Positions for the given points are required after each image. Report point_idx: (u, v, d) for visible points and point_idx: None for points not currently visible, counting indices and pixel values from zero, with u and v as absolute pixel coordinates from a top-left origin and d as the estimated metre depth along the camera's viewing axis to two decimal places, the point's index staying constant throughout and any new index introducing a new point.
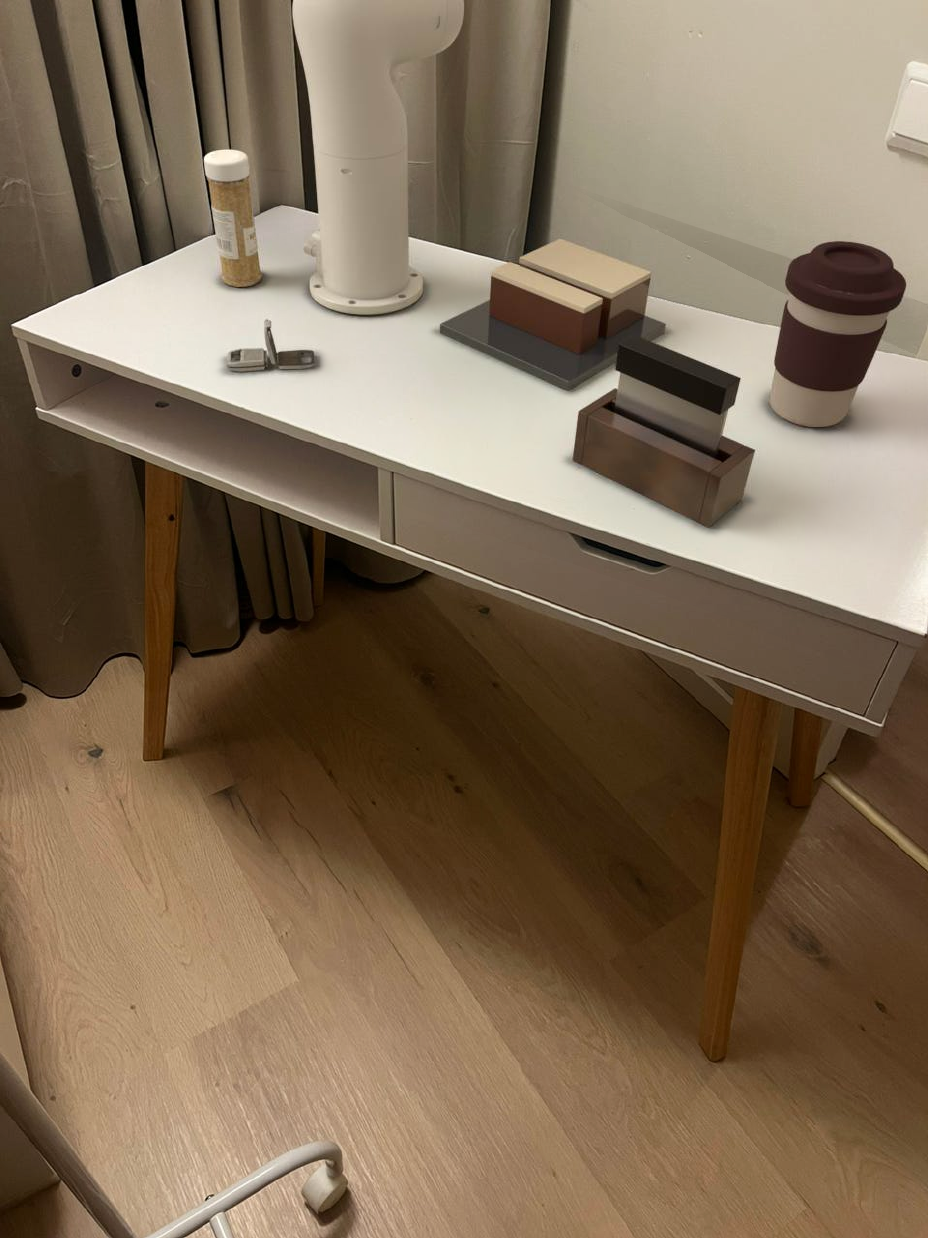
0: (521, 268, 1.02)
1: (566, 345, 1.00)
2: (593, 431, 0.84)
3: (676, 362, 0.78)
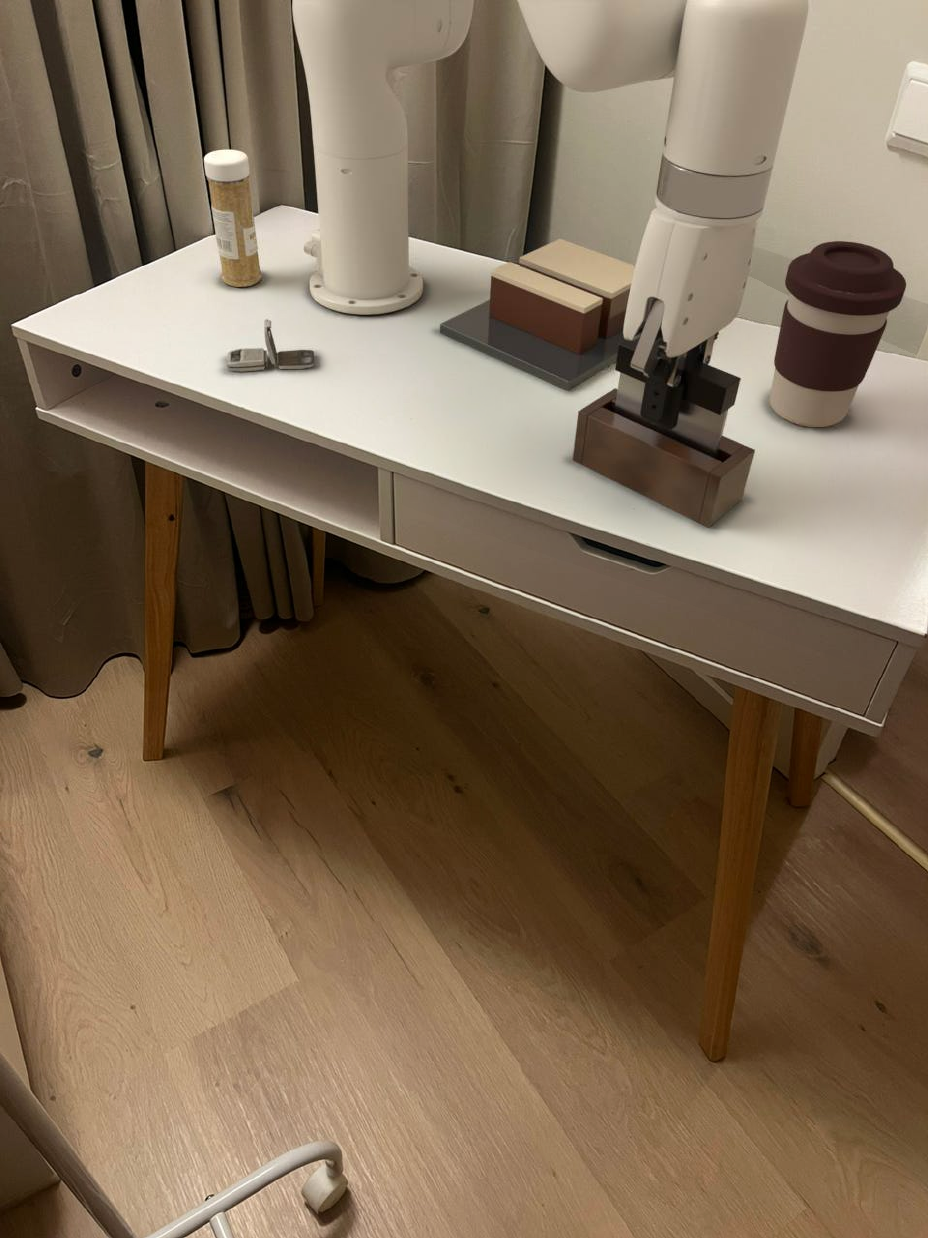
0: (521, 268, 1.02)
1: (566, 345, 1.00)
2: (593, 431, 0.84)
3: None
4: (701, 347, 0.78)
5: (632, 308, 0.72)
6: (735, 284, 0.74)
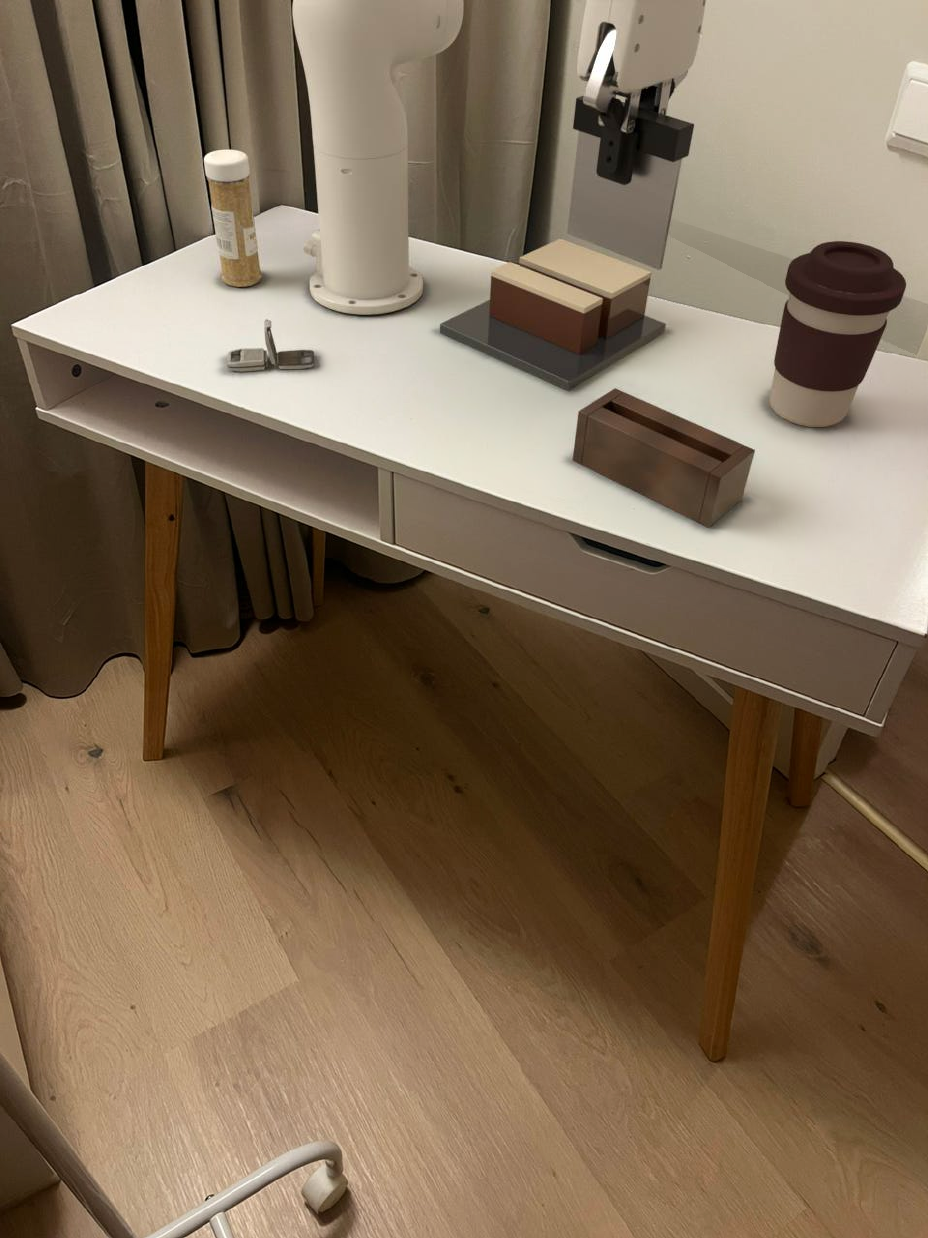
0: (521, 268, 1.02)
1: (566, 345, 1.00)
2: (593, 431, 0.84)
3: None
4: (656, 97, 0.78)
5: (585, 39, 0.73)
6: (689, 22, 0.74)
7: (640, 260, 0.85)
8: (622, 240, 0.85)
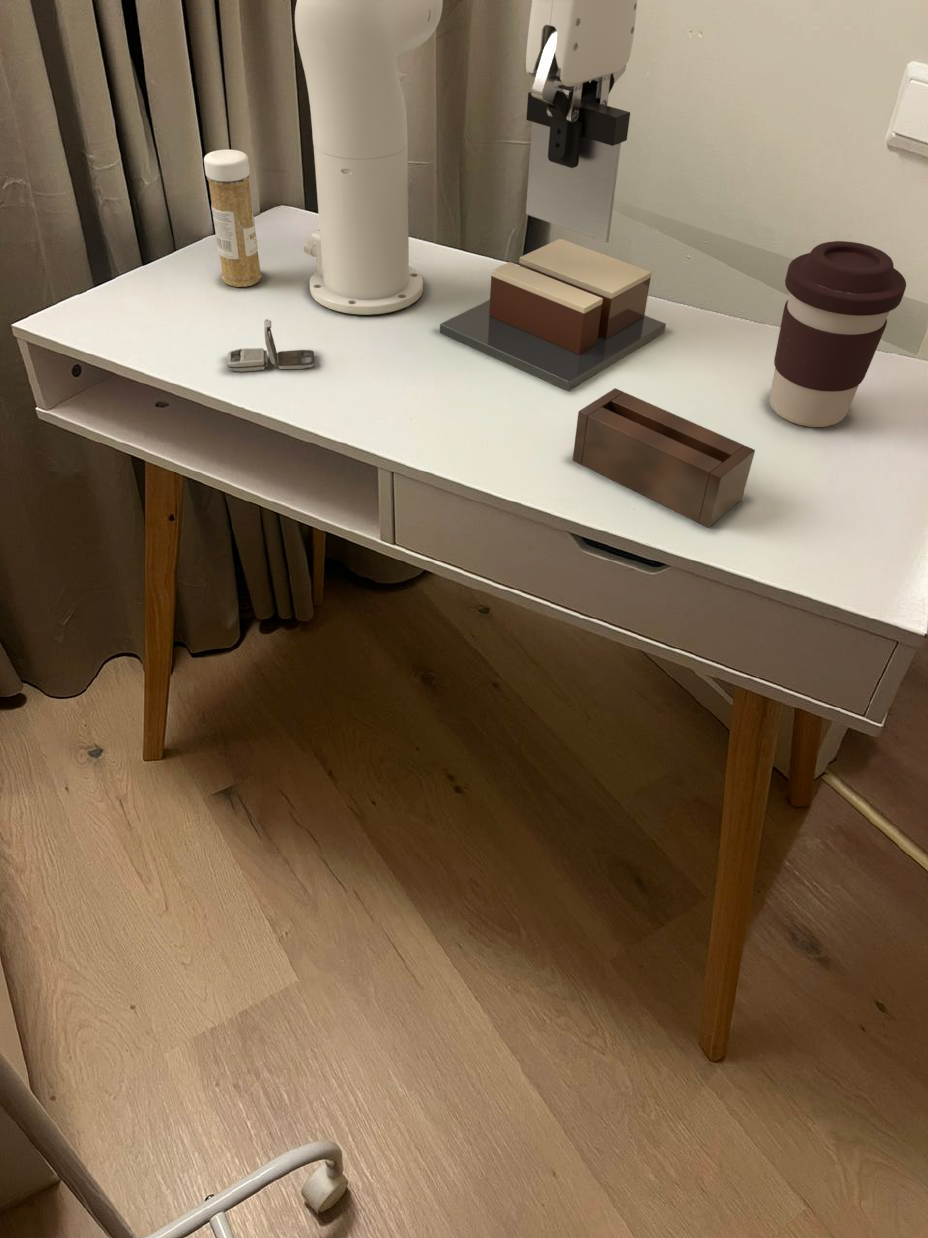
0: (521, 268, 1.02)
1: (566, 345, 1.00)
2: (593, 431, 0.84)
3: None
4: (597, 90, 0.90)
5: (531, 40, 0.84)
6: (622, 23, 0.85)
7: (589, 235, 0.96)
8: (573, 218, 0.96)
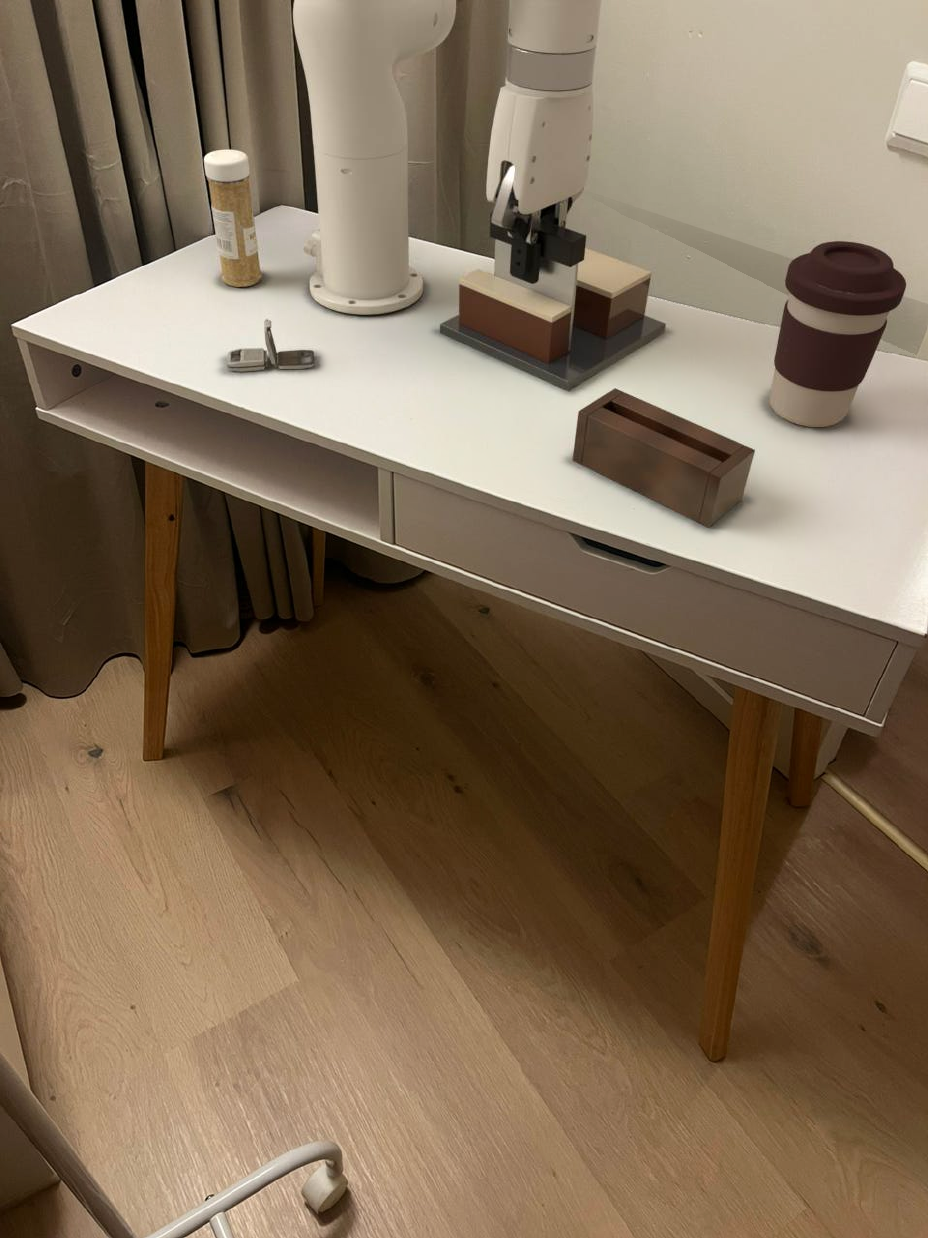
0: (490, 275, 1.01)
1: (536, 354, 0.99)
2: (593, 431, 0.84)
3: None
4: (556, 212, 0.94)
5: (491, 172, 0.89)
6: (577, 154, 0.90)
7: None
8: None
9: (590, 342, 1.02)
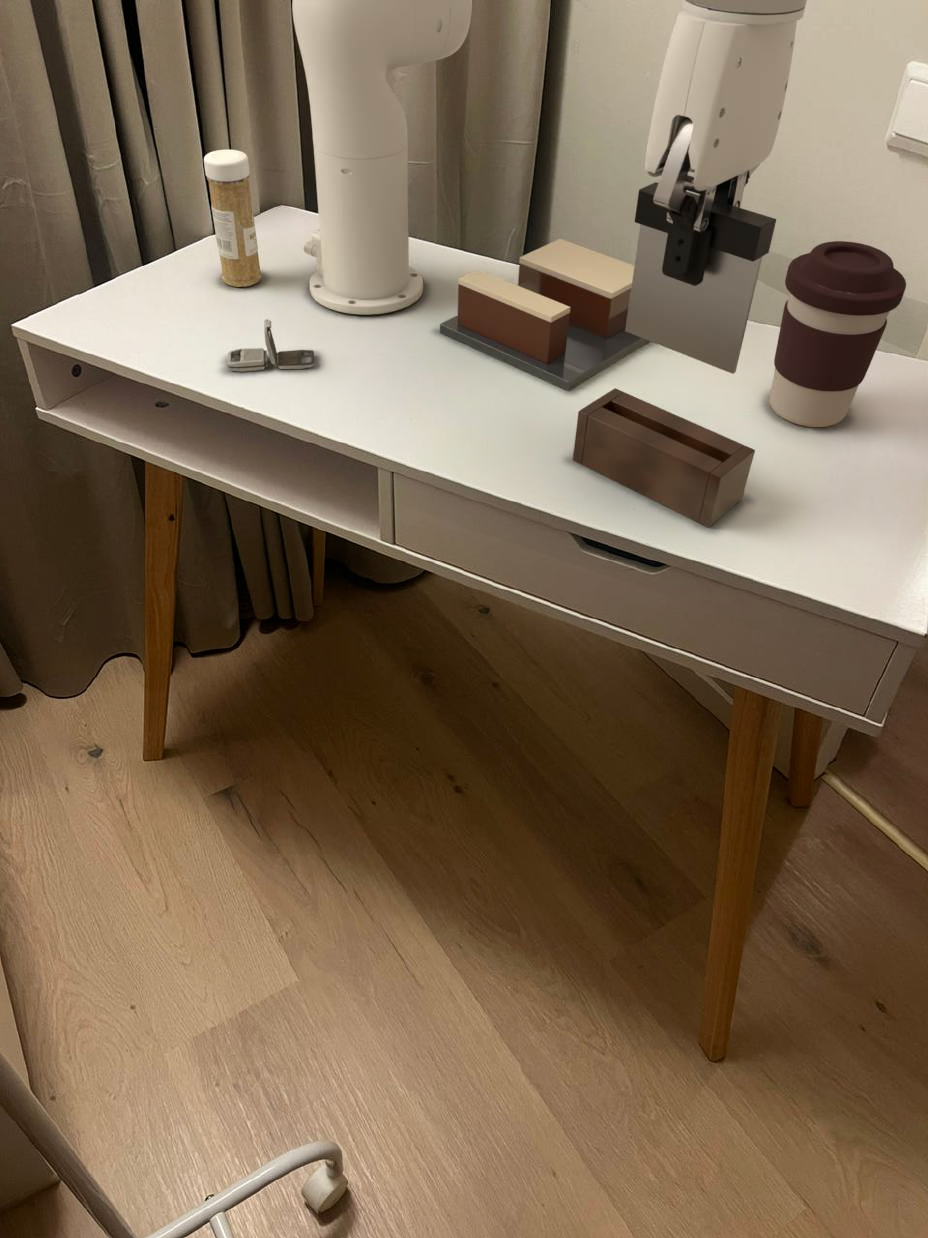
0: (489, 276, 1.01)
1: (534, 354, 0.99)
2: (593, 431, 0.84)
3: None
4: (730, 190, 0.70)
5: (655, 133, 0.65)
6: (770, 109, 0.66)
7: (711, 363, 0.76)
8: (690, 341, 0.76)
9: (590, 342, 1.02)
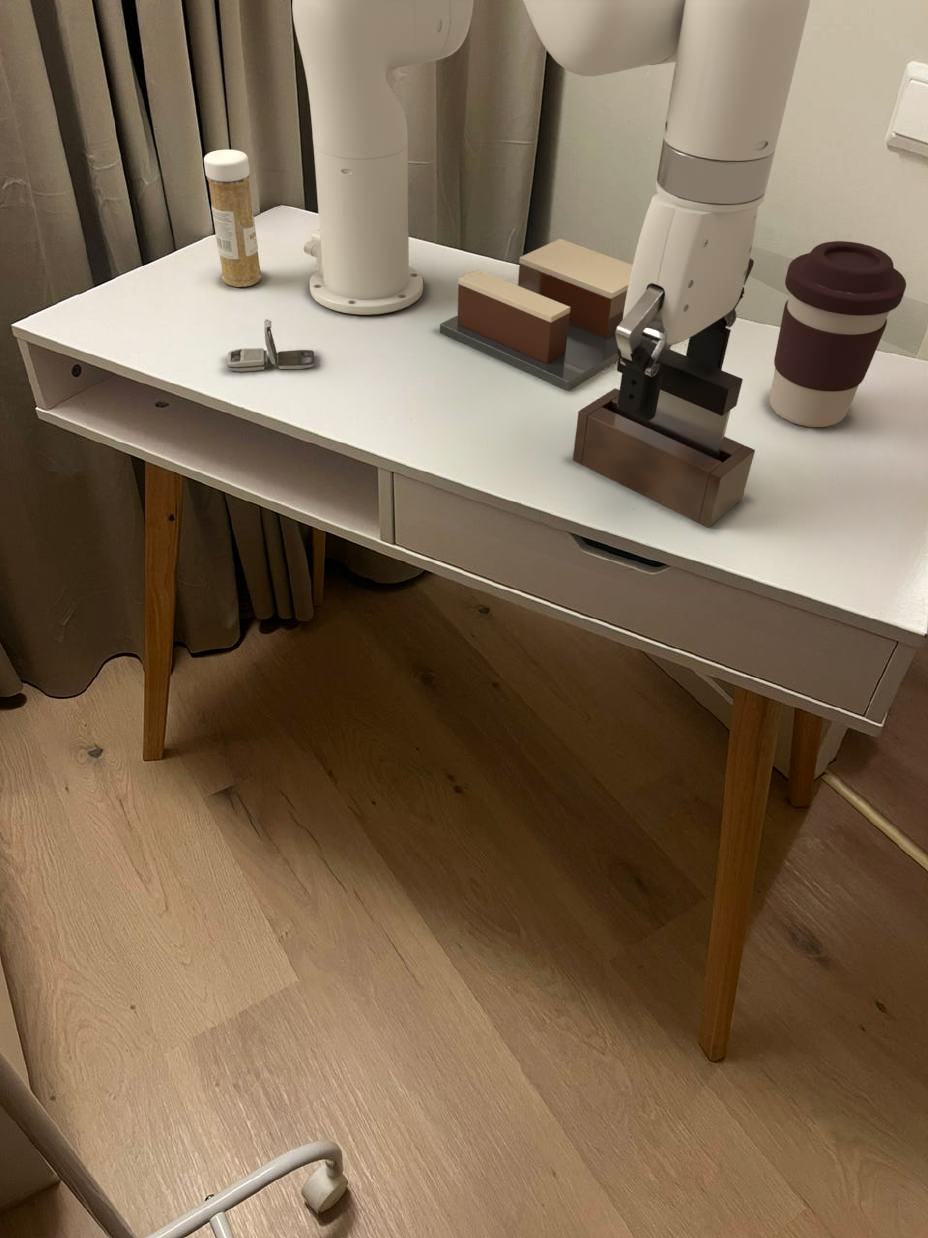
0: (489, 276, 1.01)
1: (534, 354, 0.99)
2: (593, 431, 0.84)
3: (678, 363, 0.78)
4: None
5: (632, 295, 0.72)
6: (736, 271, 0.73)
7: None
8: None
9: (590, 342, 1.02)
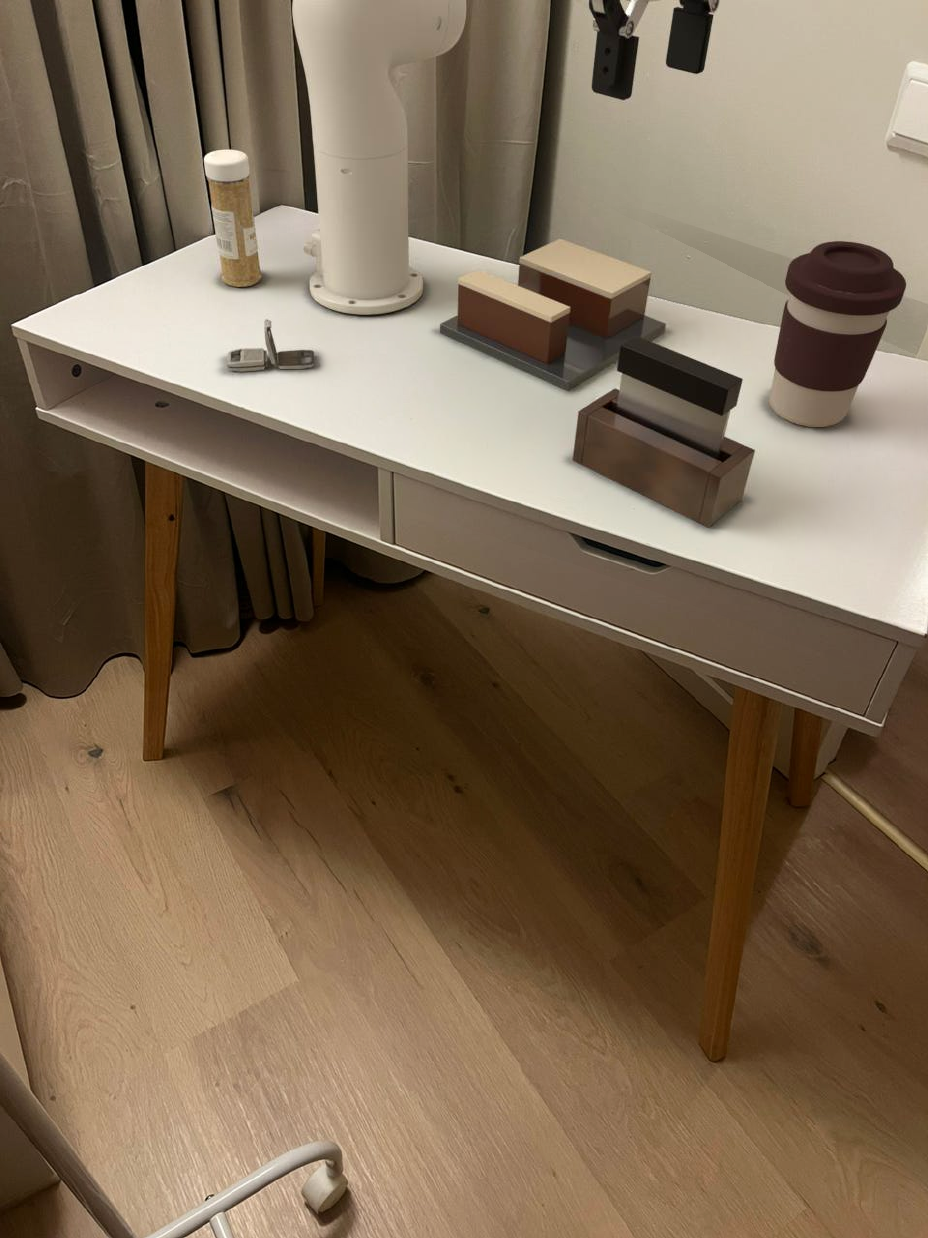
0: (489, 276, 1.01)
1: (534, 354, 0.99)
2: (593, 431, 0.84)
3: (678, 363, 0.78)
4: None
5: None
6: None
7: None
8: None
9: (590, 342, 1.02)
